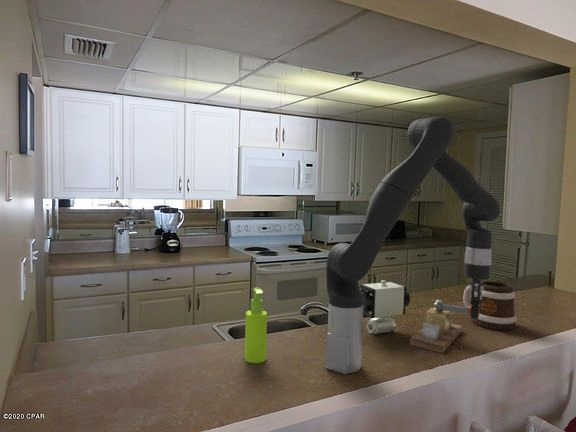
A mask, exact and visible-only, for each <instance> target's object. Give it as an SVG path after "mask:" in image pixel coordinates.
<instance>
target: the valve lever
mask: <svg viewBox="0 0 576 432" xmlns="http://www.w3.org/2000/svg"><path fill="white" fill-rule="evenodd" d="M433 306H434V307H433V308H434V310H435V311H439V312H442V311H443V310H445V311H450V312H455V313H462V314H468V316H471V306H469V307H466V306H464V305H463V306H461V305H454V304H445V303H444V302H443V301H442V300H441V299H436V300H435V302H434V304H433ZM479 311H480V309H479Z"/></svg>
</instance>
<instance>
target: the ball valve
mask: <svg viewBox="0 0 576 432" xmlns="http://www.w3.org/2000/svg"><path fill="white" fill-rule="evenodd" d="M359 288H360V290H361V292H362V294H363V297H364V302H363V316H366V317H368V318H369V321H367V324H366V328H367V331H368V332H369V333H371V334H375V335H377V334H382V333H390V332H392V331H395V329H396V327H397V324H396V321H395V319H393V318H392V317H393V316H394V317H395V316H402V315H406V310H407V307H408V306H409V305H410V303H411V295H410V292H409V290H408V289H407V286H406V285H403V284H399V283H397V282H395V281H389V282H388V281H387V280H385V279H383V280H381V281H380V282H376V283H366V284H364V283H363V284H359Z"/></svg>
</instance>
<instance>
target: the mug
mask: <svg viewBox="0 0 576 432" xmlns="http://www.w3.org/2000/svg"><path fill="white" fill-rule="evenodd" d="M481 283H483V291H482V299H481V300H480V307H479V309H480V311H479V317H478V318H472V317H471V316H470V319H471V320H470V321H472V322H473V324H475V325H476V326H479V327H482V328H485V329H490V330H494V331H511V330H512V329H514V328H516V322H517V316H516V314H515V300H514V299H515V297H516V293H515V292H514V289H513V287H512V286H511V285H510V284H508V283H504V282H500V281H499V282H498V281H490V280H489V281H487V280H484V281H481ZM469 300H470V289H469V285H467V286H466V287H465V289H464V291H463V298H462V301H463V306H464V307H469V306H471V304H470V301H469Z"/></svg>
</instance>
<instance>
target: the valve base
mask: <svg viewBox="0 0 576 432" xmlns="http://www.w3.org/2000/svg"><path fill="white" fill-rule="evenodd" d="M462 330H463V326H462V325H460V324H456V323H455V324H454V323H452V324H451V327H449V332H448V333H447V334H446V335H445V336H440V337H439V338H438V341H433V340H429V339H425V338H422V332H423V327H422V328H421V329H420V330H418V331H417V332H415V333H414V334H413V335H412V336H411V337H410V338H409V346H413V347H418V348H420V349H421V348H422V349H425V350H430V351H434V352H438V353H442V354H444V352H445V351H446V350H447V349H448V348H449V346H450V345H451V344H452V343H453V342H454V341H455V340H456V338H457V337H458V336H459V335H460V334H461V333H462V332H463V331H462Z"/></svg>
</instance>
